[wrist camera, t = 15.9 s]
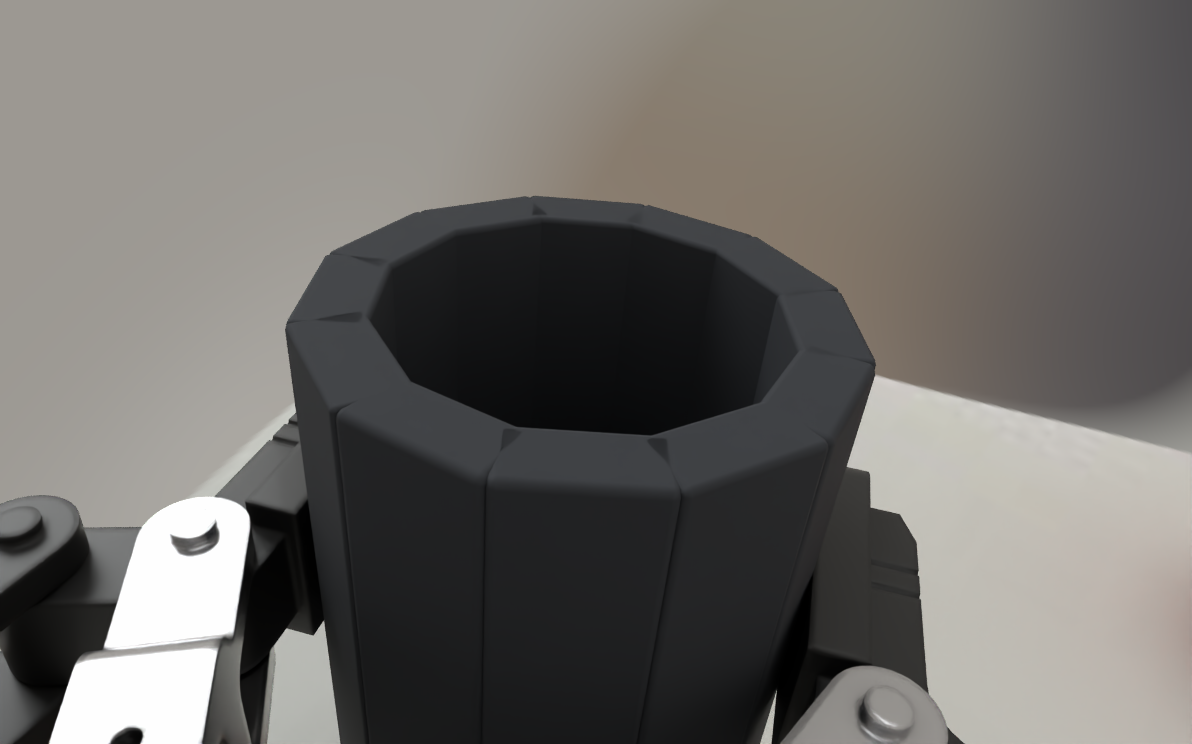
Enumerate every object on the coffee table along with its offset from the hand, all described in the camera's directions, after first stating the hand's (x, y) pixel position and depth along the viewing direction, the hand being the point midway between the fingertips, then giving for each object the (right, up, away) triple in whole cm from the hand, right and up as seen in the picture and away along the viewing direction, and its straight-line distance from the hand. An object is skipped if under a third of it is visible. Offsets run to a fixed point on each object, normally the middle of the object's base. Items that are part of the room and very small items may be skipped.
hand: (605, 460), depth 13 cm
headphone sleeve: (-1, -6, +1) cm, 6 cm away
